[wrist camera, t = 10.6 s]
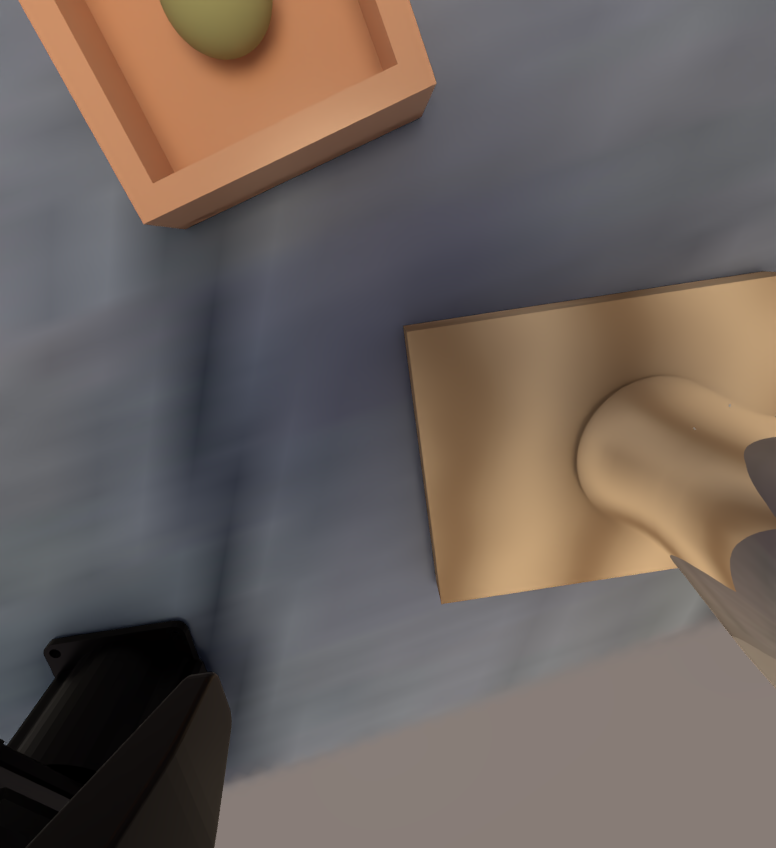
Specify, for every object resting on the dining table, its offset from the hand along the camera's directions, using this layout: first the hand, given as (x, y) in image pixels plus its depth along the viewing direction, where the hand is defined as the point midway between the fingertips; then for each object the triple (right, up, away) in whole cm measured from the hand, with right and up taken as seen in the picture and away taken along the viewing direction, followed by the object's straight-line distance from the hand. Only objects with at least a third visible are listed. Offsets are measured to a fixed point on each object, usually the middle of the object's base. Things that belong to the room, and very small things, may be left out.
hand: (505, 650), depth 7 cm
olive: (-6, +15, +6) cm, 17 cm away
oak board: (+7, +3, +13) cm, 15 cm away
